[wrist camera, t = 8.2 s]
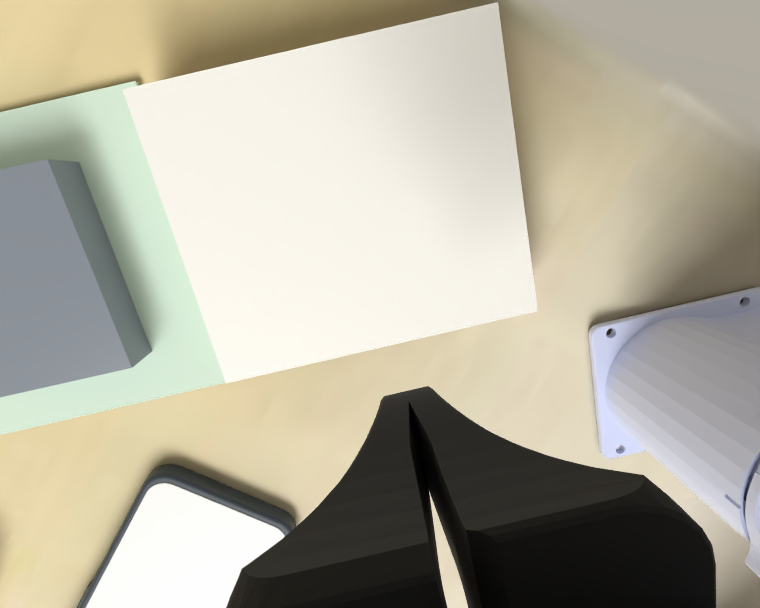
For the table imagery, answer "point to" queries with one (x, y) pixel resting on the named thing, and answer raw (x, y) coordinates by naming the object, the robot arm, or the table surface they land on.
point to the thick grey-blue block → (59, 283)
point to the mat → (132, 250)
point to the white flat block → (344, 191)
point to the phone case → (184, 544)
